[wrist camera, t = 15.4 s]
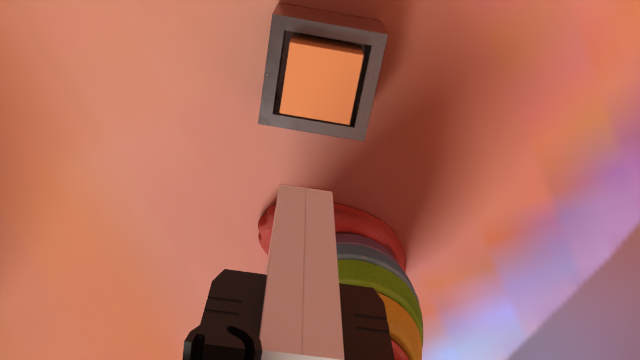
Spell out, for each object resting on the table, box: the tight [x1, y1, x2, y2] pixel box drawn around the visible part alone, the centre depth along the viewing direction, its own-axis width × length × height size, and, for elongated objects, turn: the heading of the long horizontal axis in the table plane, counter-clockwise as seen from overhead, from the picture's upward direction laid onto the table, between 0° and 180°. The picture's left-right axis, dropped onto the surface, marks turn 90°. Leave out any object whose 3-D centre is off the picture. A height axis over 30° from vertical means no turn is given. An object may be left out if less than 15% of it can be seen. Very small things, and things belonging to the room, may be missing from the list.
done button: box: [280, 33, 364, 125], centre depth 30 cm, size 4×4×2 cm
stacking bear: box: [258, 203, 423, 360], centre depth 32 cm, size 11×10×18 cm
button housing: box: [258, 3, 388, 141], centre depth 32 cm, size 6×6×4 cm
